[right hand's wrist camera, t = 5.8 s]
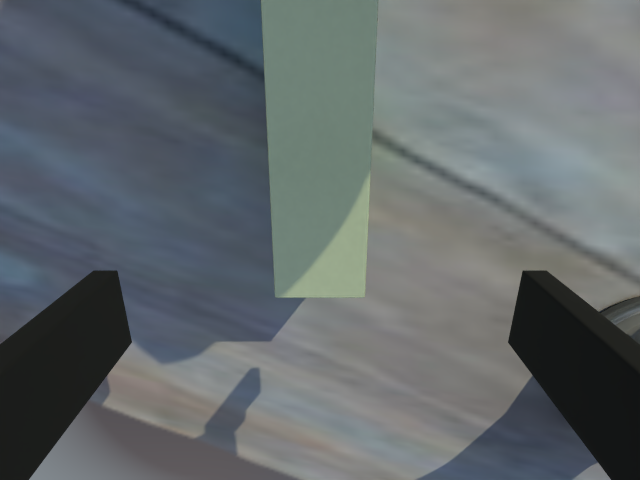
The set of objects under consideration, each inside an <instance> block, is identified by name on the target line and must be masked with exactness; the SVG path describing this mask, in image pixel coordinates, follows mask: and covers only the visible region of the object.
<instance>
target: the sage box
mask: <svg viewBox="0 0 640 480" xmlns="http://www.w3.org/2000/svg"><path fill="white" fill-rule="evenodd" d="M261 15H262V36H263V57H264V78H265V99H266V120H267V141H268V162H269V183H270V204H271V225H272V246H273V267H274V288H275V297H276V298H364V297H365V284H366V261H367V239H368V217H369V194H370V172H371V150H372V127H373V105H374V83H375V61H376V38H377V16H378V0H261Z"/></svg>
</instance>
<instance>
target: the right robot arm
mask: <svg viewBox="0 0 640 480" xmlns="http://www.w3.org/2000/svg"><path fill="white" fill-rule="evenodd" d="M131 343H132V341H131V336H130V331H129V326H128V321H127V316H126V311H125V306H124V301H123V296H122V292H121V287H120V282H119V277H118V272H117V271H93V272H91V273H90V274H89V275H87V276H86V277H85V278H84V279H82V280H81V281H80V282H79V283H77V284H76V285H75V286H74V287H72V288H71V289H70V290H68V291H67V292H66V293H65V294H63V295H62V296H61V297H60V298H58V299H57V300H56V301H55V302H53V303H52V304H51V305H50V306H48V307H47V308H46V309H44V310H43V311H42V312H41V313H39V314H38V315H37V316H36V317H34V318H33V319H32V320H31V321H29V322H28V323H27V324H25V325H24V326H23V327H22V328H20V329H19V330H18V331H17V332H15V333H14V334H13V335H12V336H10V337H9V338H8V339H6V340H5V341H4V342H3V343H1V344H0V480H29V479H30V477H31V476H32V475H33V473H34V472H35V471H36V469H37V468H38V467H39V465H40V464H41V463H42V461H43V460H44V459H45V457H46V456H47V455H48V453H49V452H50V451H51V449H52V448H53V447H54V445H55V444H56V443H57V441H58V440H59V439H60V437H61V436H62V435H63V433H64V432H65V431H66V429H67V428H68V427H69V425H70V424H71V423H72V421H73V420H74V419H75V417H76V416H77V415H78V413H79V412H80V411H81V409H82V408H83V407H84V405H85V404H86V403H87V401H88V400H89V399H90V397H91V396H92V395H93V393H94V392H95V391H96V389H97V388H98V387H99V385H100V384H101V383H102V381H103V380H104V379H105V377H106V376H107V375H108V373H109V372H110V371H111V369H112V368H113V367H114V365H115V364H116V363H117V361H118V360H119V359H120V357H121V356H122V355H123V353H124V352H125V351H126V349H127V348H128V347H129V345H130V344H131ZM508 343H509V344H510V345H511V347H512V348H513V349H514V351H515V352H516V353H517V355H518V356H519V357H520V359H521V360H522V361H523V363H524V364H525V365H526V367H527V368H528V369H529V371H530V372H531V373H532V375H533V376H534V377H535V379H536V380H537V381H538V383H539V384H540V385H541V387H542V388H543V389H544V391H545V392H546V393H547V395H548V396H549V397H550V399H551V400H552V401H553V403H554V404H555V405H556V407H557V408H558V409H559V411H560V412H561V413H562V415H563V416H564V417H565V419H566V420H567V421H568V423H569V424H570V425H571V427H572V428H573V429H574V431H575V432H576V433H577V435H578V436H579V437H580V439H581V440H582V441H583V443H584V444H585V445H586V447H587V448H588V449H589V451H590V452H591V453H592V455H593V456H594V457H595V459H596V460H597V461H598V463H599V464H600V465H601V467H602V468H603V469H604V471H605V472H606V473H607V475H608V476H609V477H610V479H611V480H640V296H639V297H636V298H632V299H629V300H627V301H624V302H621V303H619V304H617V305H615V306H612V307H610V308H609V309H607V310H605V311H603V312H602V313H599V312H598V311H597V310H596V309H594V308H593V307H592V306H590V305H589V304H588V303H587V302H585V301H584V300H583V299H582V298H580V297H579V296H578V295H577V294H575V293H574V292H573V291H572V290H570V289H569V288H568V287H566V286H565V285H564V284H563V283H561V282H560V281H559V280H558V279H556V278H555V277H554V276H553V275H551V274H550V273H549V272H547V271H523V272H522V277H521V282H520V287H519V292H518V296H517V301H516V306H515V311H514V316H513V321H512V326H511V331H510V336H509V341H508Z"/></svg>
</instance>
